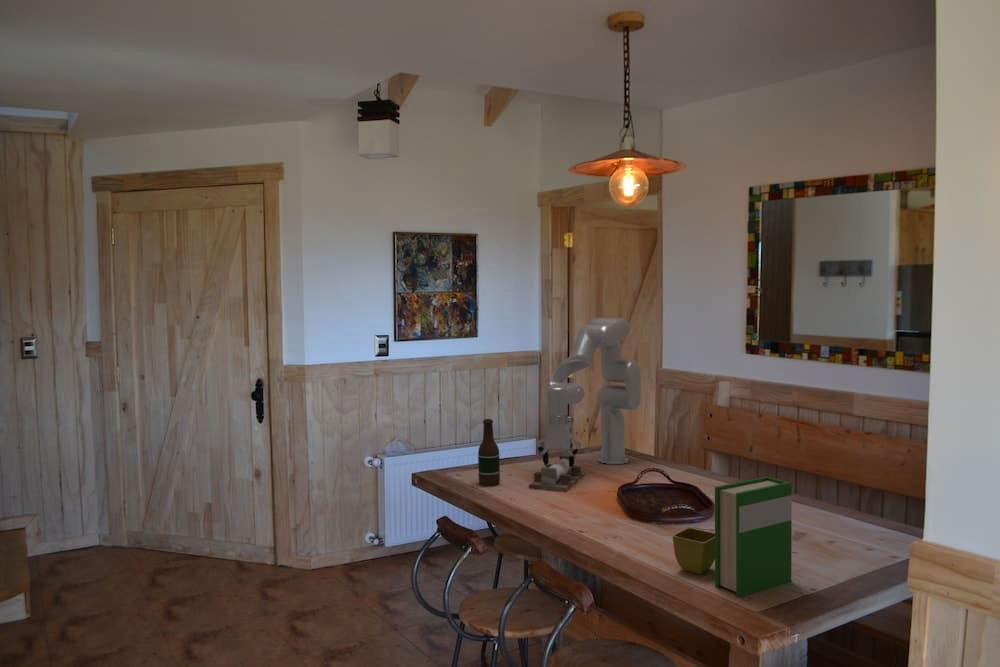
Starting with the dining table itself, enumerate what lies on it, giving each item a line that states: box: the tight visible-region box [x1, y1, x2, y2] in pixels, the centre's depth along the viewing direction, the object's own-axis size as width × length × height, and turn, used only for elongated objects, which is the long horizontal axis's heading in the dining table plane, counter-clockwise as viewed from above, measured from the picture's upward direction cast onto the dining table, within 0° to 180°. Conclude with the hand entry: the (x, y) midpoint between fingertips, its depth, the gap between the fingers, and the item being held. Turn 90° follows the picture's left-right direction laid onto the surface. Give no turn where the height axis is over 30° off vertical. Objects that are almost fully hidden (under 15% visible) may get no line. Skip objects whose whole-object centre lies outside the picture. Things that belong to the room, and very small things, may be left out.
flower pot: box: [672, 527, 715, 575], centre depth 190 cm, size 9×9×9 cm
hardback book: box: [714, 476, 793, 599], centre depth 180 cm, size 18×7×24 cm, turn 120°
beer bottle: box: [477, 418, 501, 487], centre depth 279 cm, size 8×8×24 cm
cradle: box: [528, 454, 587, 493], centre depth 281 cm, size 25×14×8 cm, turn 158°
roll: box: [549, 458, 572, 481], centre depth 281 cm, size 16×6×6 cm, turn 157°
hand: (558, 465), depth 281 cm, fingers open, 9 cm apart
